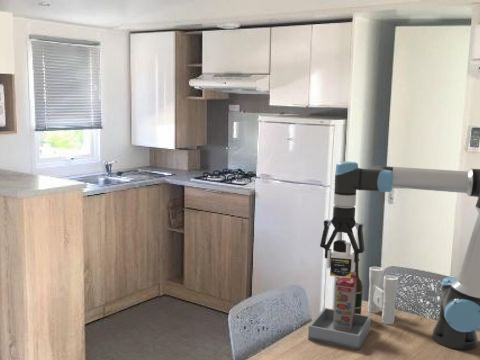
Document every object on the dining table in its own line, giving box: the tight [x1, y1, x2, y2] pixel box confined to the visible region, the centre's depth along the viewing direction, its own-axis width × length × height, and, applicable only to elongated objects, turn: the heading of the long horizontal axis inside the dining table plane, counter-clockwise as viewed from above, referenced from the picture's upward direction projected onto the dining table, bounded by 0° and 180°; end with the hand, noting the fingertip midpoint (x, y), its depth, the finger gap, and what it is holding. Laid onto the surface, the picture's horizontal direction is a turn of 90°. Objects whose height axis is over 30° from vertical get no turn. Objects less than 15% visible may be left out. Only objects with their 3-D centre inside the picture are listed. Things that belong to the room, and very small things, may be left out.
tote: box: [307, 307, 372, 351], centre depth 200 cm, size 18×20×5 cm
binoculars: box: [367, 266, 399, 325], centre depth 218 cm, size 17×5×18 cm, turn 14°
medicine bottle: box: [329, 239, 353, 278], centre depth 192 cm, size 7×7×12 cm
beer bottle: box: [355, 259, 364, 315], centre depth 217 cm, size 8×8×24 cm
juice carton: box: [333, 271, 357, 332], centre depth 203 cm, size 7×7×22 cm
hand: (340, 269), depth 193 cm, fingers closed on medicine bottle, 8 cm apart
